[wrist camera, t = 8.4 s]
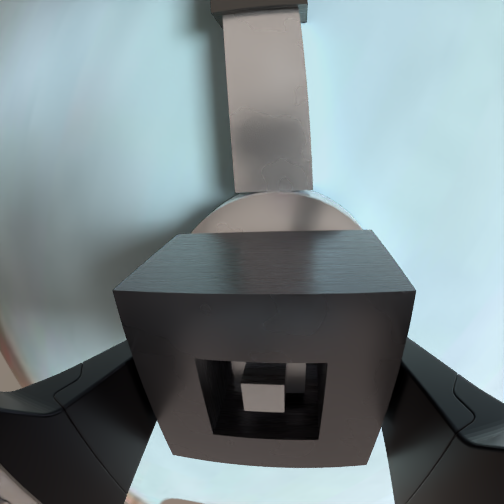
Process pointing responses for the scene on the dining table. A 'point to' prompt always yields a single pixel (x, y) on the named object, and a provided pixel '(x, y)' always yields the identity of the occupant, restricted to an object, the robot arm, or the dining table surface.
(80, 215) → the dining table surface
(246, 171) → the ratchet
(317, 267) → the socket
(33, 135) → the dining table surface
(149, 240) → the dining table surface
